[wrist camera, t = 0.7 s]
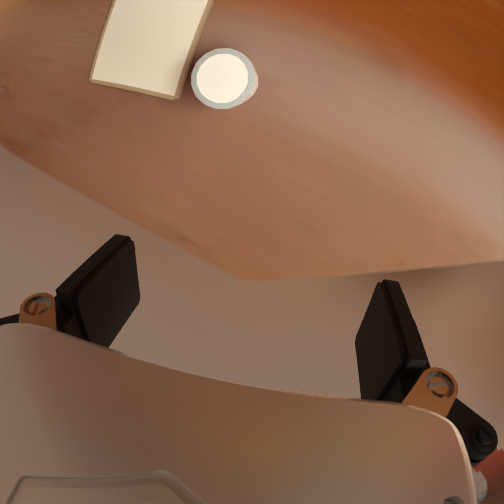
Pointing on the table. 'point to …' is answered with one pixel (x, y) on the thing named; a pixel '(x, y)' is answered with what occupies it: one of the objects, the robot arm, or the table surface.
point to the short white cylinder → (224, 78)
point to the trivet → (149, 45)
